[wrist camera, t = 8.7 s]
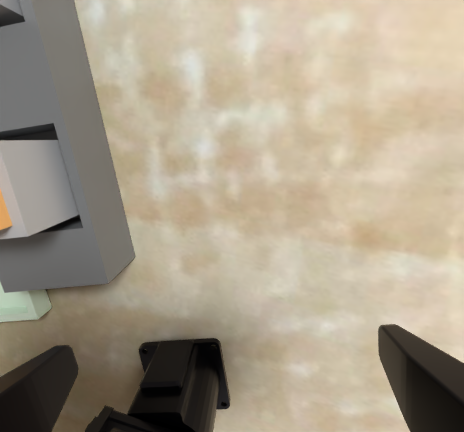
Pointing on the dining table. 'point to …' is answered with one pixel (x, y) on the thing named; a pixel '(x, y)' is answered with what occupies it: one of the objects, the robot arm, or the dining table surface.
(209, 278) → the dining table surface
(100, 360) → the dining table surface
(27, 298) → the tray
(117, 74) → the dining table surface
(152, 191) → the dining table surface
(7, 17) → the twin plug
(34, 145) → the plug
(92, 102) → the grey long block
